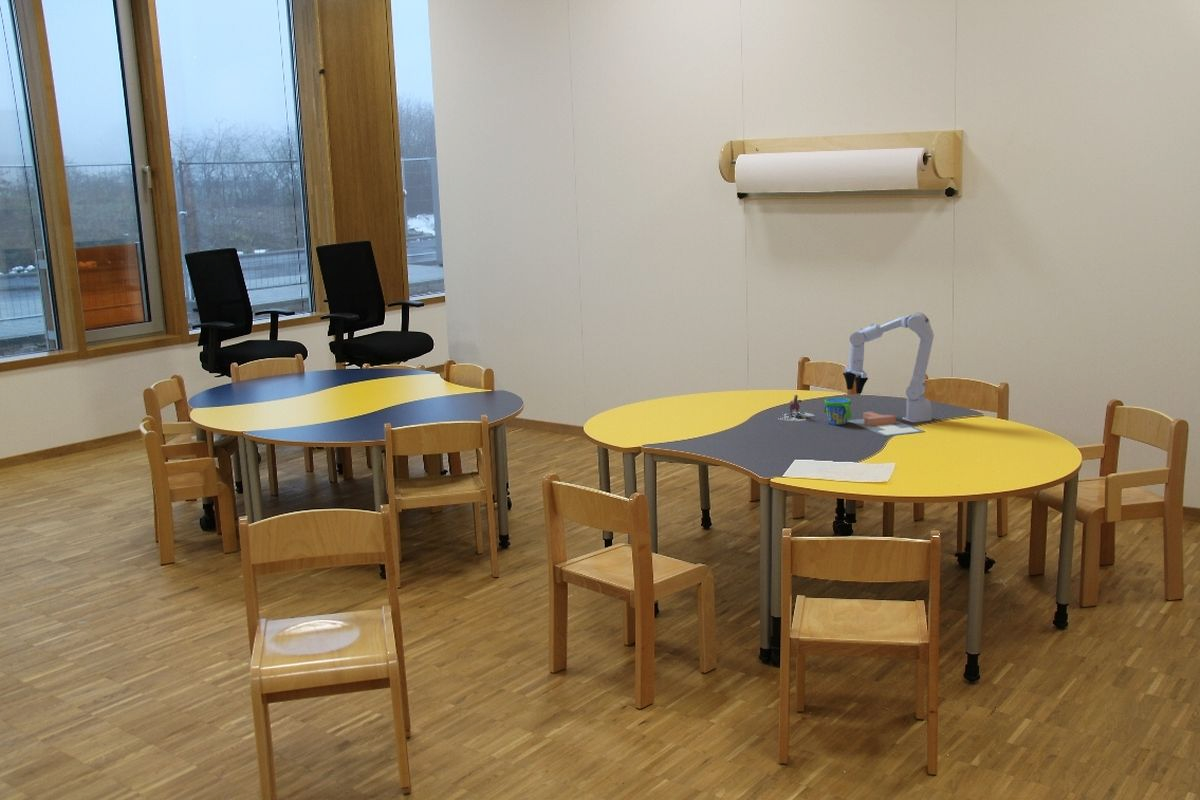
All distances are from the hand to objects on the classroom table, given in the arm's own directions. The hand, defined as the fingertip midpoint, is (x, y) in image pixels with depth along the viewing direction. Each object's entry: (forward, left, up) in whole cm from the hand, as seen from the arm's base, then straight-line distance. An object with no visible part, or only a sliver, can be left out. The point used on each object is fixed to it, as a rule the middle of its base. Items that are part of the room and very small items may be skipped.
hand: (854, 391), depth 476 cm
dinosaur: (+23, -10, -11) cm, 27 cm away
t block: (-1, +15, -10) cm, 19 cm away
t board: (-1, +22, -11) cm, 25 cm away
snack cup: (+14, +11, -11) cm, 20 cm away
